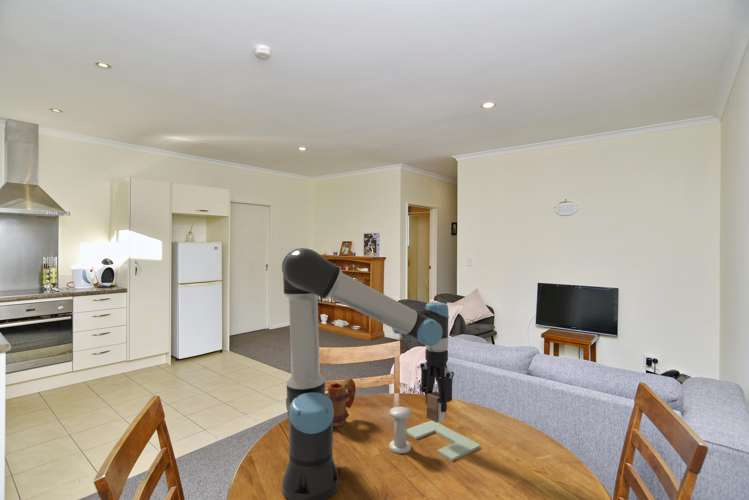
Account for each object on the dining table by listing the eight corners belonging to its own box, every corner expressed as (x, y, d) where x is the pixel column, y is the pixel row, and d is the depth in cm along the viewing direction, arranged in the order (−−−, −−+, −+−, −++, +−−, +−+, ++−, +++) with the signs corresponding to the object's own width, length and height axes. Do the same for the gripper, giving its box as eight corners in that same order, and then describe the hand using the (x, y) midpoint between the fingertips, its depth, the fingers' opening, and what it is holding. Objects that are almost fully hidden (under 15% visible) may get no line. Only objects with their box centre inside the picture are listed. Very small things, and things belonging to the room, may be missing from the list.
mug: (335, 432, 133) (336, 389, 133) (319, 425, 138) (319, 384, 138) (361, 417, 144) (362, 378, 144) (345, 411, 149) (346, 373, 149)
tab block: (436, 422, 124) (436, 398, 124) (426, 417, 128) (426, 394, 128) (445, 419, 127) (445, 395, 127) (435, 414, 130) (436, 391, 130)
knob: (398, 456, 118) (399, 418, 118) (385, 446, 124) (385, 410, 124) (415, 449, 122) (416, 412, 122) (401, 440, 128) (401, 405, 128)
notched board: (451, 461, 116) (451, 458, 116) (404, 432, 134) (404, 430, 133) (480, 447, 124) (480, 445, 124) (432, 422, 142) (432, 419, 142)
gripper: (464, 353, 122) (463, 424, 122) (426, 341, 136) (425, 406, 136) (448, 357, 118) (447, 431, 118) (410, 344, 132) (410, 411, 132)
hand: (435, 417), depth 127 cm, fingers closed on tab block, 4 cm apart
